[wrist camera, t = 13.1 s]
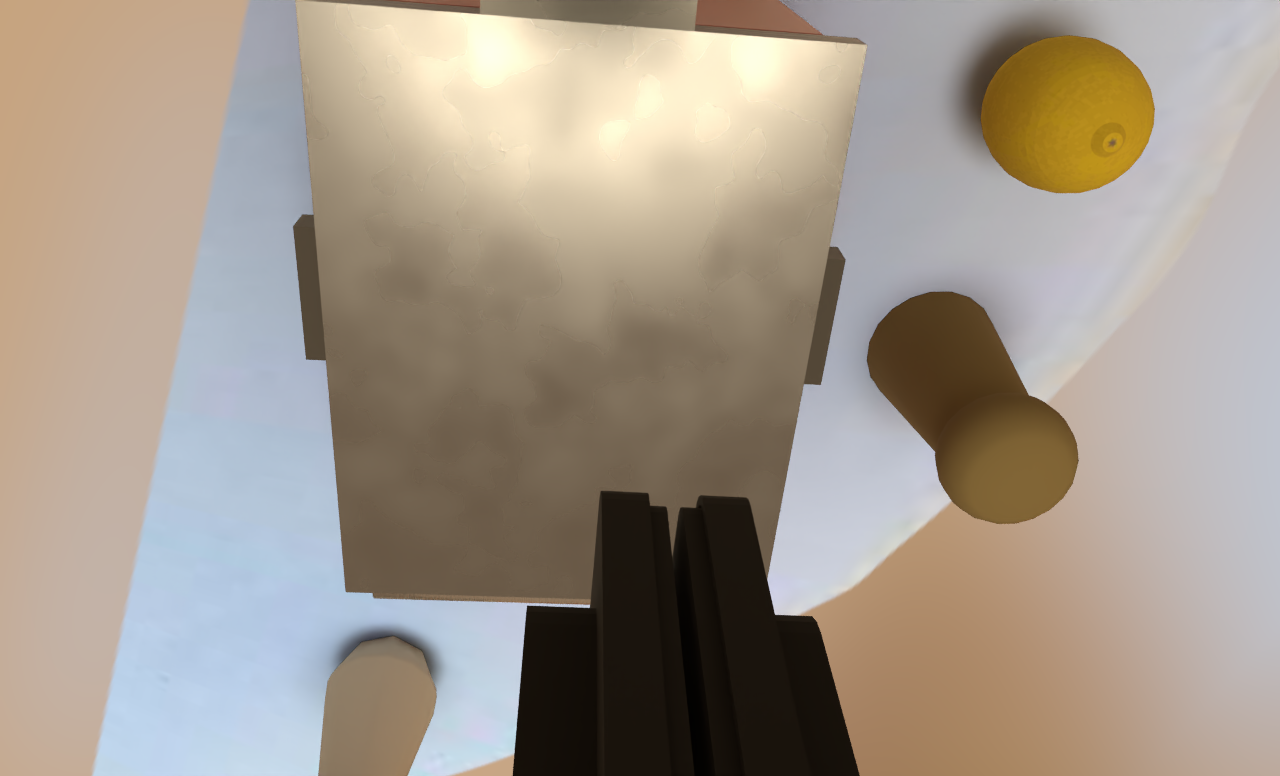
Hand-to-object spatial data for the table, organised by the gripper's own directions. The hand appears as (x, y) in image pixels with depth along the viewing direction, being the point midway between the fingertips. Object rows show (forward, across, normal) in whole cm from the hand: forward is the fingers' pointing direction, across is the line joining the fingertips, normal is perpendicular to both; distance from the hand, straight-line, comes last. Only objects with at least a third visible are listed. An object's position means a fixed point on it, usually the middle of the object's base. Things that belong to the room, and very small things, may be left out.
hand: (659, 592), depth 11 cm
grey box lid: (+21, +1, +7) cm, 22 cm away
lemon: (+31, -17, +1) cm, 36 cm away
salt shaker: (+30, +10, +34) cm, 46 cm away
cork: (+31, -16, +13) cm, 37 cm away
